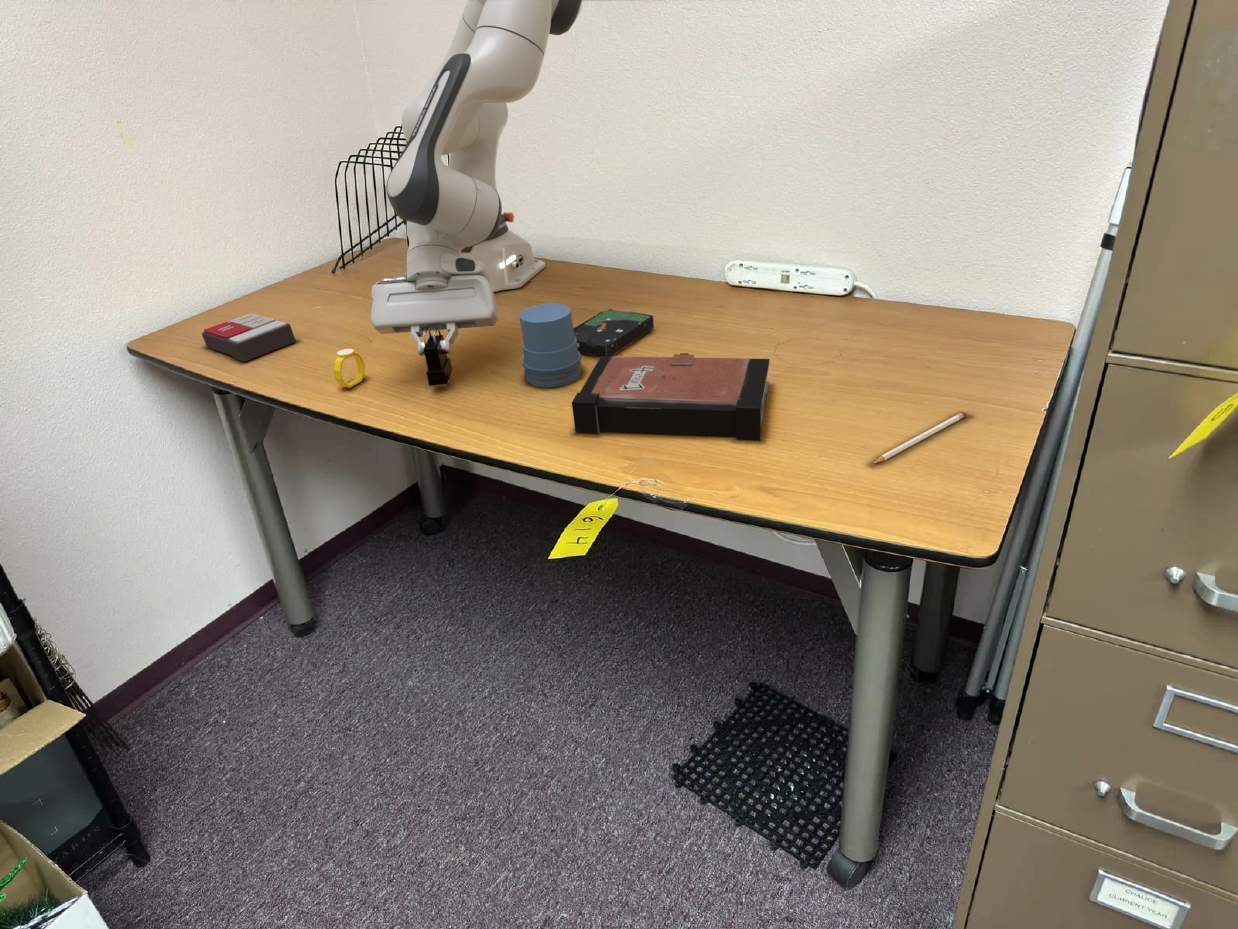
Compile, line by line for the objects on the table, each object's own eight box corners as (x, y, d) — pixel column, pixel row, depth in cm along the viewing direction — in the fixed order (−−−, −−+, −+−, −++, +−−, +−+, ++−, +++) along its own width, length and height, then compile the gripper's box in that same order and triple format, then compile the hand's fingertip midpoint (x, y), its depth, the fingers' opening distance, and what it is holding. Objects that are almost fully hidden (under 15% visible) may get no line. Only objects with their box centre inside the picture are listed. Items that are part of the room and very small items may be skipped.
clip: (435, 372, 136) (424, 324, 132) (452, 370, 136) (443, 323, 132) (429, 386, 132) (418, 337, 127) (447, 384, 132) (437, 335, 127)
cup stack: (546, 359, 141) (537, 298, 135) (593, 368, 136) (586, 305, 130) (513, 383, 134) (502, 319, 128) (562, 392, 129) (553, 327, 123)
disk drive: (608, 361, 138) (655, 328, 148) (607, 346, 137) (654, 313, 147) (560, 351, 144) (608, 320, 154) (558, 336, 142) (606, 306, 152)
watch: (348, 393, 136) (339, 360, 133) (335, 391, 137) (325, 358, 134) (371, 377, 140) (362, 345, 137) (358, 376, 141) (349, 344, 138)
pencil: (966, 417, 112) (967, 413, 112) (875, 466, 104) (876, 462, 103) (961, 415, 113) (961, 411, 112) (870, 464, 104) (871, 459, 104)
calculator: (251, 310, 165) (289, 320, 155) (258, 330, 167) (296, 341, 158) (198, 329, 158) (235, 340, 149) (207, 350, 160) (243, 362, 151)
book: (769, 383, 126) (770, 353, 123) (760, 440, 111) (760, 408, 109) (604, 380, 132) (601, 351, 129) (575, 433, 117) (571, 402, 115)
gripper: (365, 270, 132) (364, 351, 128) (491, 260, 131) (493, 341, 128) (378, 287, 138) (377, 365, 135) (498, 278, 137) (501, 356, 134)
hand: (435, 353), depth 131 cm, fingers closed on clip, 2 cm apart
